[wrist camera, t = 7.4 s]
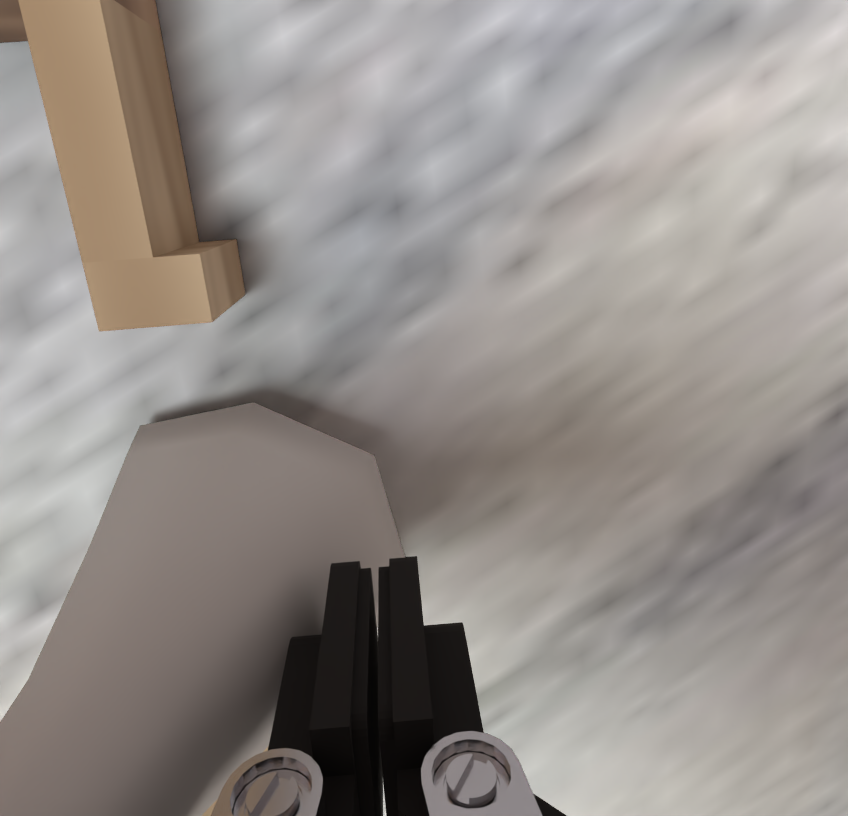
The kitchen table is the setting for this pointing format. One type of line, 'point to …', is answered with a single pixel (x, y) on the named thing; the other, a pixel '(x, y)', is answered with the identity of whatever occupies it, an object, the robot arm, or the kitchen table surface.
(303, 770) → the robot arm
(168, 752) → the flask
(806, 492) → the kitchen table surface
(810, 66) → the kitchen table surface
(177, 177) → the zigzag wooden frame
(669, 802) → the kitchen table surface
